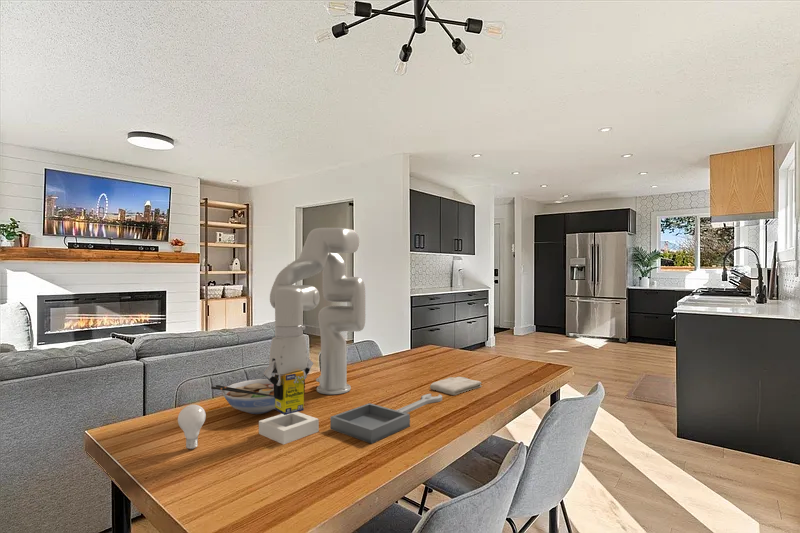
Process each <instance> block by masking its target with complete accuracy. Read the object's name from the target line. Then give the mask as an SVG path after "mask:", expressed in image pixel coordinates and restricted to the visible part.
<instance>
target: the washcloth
mask: <svg viewBox="0 0 800 533" xmlns="http://www.w3.org/2000/svg"><path fill="white" fill-rule="evenodd" d="M429 386H430V387H429V388H430V389H431V390H433V391H435V390H436V391H437V392H441V393H444V394H446V395H451V396H457V395H461V394H463V392H464V393H467V392H469V390H470V391H473V390H476V389H479V388H482V382H481V381H479V380H475V379H470V378H467V377H463V376H457V377H452V376H451V377H447V378H445V379H440V380H438V381H434V382H432V383H431V384H430V385H429ZM472 389H473V390H472ZM466 391H467V392H466ZM460 393H461V394H460Z"/></svg>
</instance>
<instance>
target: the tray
mask: <svg viewBox="0 0 800 533" xmlns="http://www.w3.org/2000/svg"><path fill="white" fill-rule="evenodd" d="M397 410H398V409H392V408H389V407H386V406H381V405H377V404H374V403H371V402H370V403H366V404H364V405H360V406H358V407H354V408H352V409H349V410H346V411H343V412H341V413H337V414H334V415H331V416H330V430H331V431H334V432H338V433H339V434H343V435H346V436H349V437H351V438H355V439H357V440H359V441H363V442H366V443H369V444H371V445H372V444H374V443H376V442H379V441H381V440H383V439H385V438H387V437H390V436H392V435H394V434H396V433H398V432H400V431H403V430H404V429H407V428H409V427H411V414H410V413H409V412H408V413H404V412H400V411H397Z"/></svg>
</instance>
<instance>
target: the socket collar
mask: <svg viewBox="0 0 800 533" xmlns="http://www.w3.org/2000/svg"><path fill="white" fill-rule="evenodd" d="M319 420H320V419H319V418H317V417H314V416H312V415H307V414H305V413H302V412H301V411H298V412H294V413H291V414H287V415H284V414H282V413H280V414H277V415H274V416H271V417H267V418H265V419H261V420H258V434H259V435H260V436H263V437H266V438H268V439H270V440H272V441H275V442H276V443H279V444H281V445H286V444H288V443H292V442H294V441H297V440H300V439H302V438H305V437H307V436H310V435H313V434H316V433H318V432H320V431H319V430H320V427H319V426H320V424H319Z"/></svg>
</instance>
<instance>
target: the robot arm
mask: <svg viewBox="0 0 800 533" xmlns="http://www.w3.org/2000/svg"><path fill="white" fill-rule="evenodd" d="M359 246H360V238H359V235H358V232H356V230H355V229H352V228H345V227H317V228H313V229H312V230H310V232H309V233H308V234H307V237H306V240H305V241H304V245H303V247H302V250H301V253H300V254H299V257H298V258H297V259H295V260H293V261H292V262H290V264H288V265H286V267H284V268H283V269H281V270H280V272H279V273H278V274H277V275H276V276H275V280H274V281H273V284H272V287H271V289H270V293H269V302H270V303H269V304H270V305H271V307H272V308H273V309H274V324H275V325H274V336H275V337H272V338H271V343H270V349H269V358H268V359H269V360H268V367H267V368H266V369H265V370H264V372H263V377H265V379H268V380H269V381H270V382H271V383H272V384H274V398H275V399H278V400H283V385H281V383H282V380H283V375H285V374H289V373H293V372H297V371H303V372H304V394H305V391H306V381H305V380H306V379H307V378H308V374H309V372H311V369H312V367H313V366H314V362H313V361H312V360H311V359H310V358H309V357H308V348H307V347H308V346H307V340H306V335H304V331H305V330H306V328H307V327H306V325H305V324H304V311H306V312H308V311H309V312H310V311H312V310H315V308H317V307H318V306H319V303H320V300H321V296H320V291H319V290H318V288H317V287H315V286H314V285H308V284H296V283H298V282H300V281H302V280H305V279H309V278H311V277H314V276H316V275H318V274H320V273H322V296H323V299H324V300H325V301H327V302H328V303H329V302H331V303H351V305H327V306H324V307H322V308H321V309H320V310H319V312H318V316H317V317H318V324H319V325H318V326H319V331H320V332H319V333H320V375H319V376H318V377H316V379H315V381H316V382H317V383H319V385H318V386H317V387H316V392H317V393H319V394H322V395H340V394H341V395H342V394H346V393H348V392H350V391H351V387H352V386H351V385H350V384H349V383H348V382H347V376H348V375H347V368H348V367H347V363H348V362H347V359H348V358H347V356H348V355H347V354H348V353H347V349H348V348H347V341H346V338H345V337H344V335H343V333H341V332H349V333H351V332H353V333H356V332H361V331H363V329H364V328H365V327H366V326H365V324H366V286H365V283H364V280H363V279H362V278H361V277H358V276H346V263H345V260H344V259H343V258H342V256H341V254H354V253H356V252H357V251H358V249H359V248H360V247H359ZM273 374H274V375H273ZM278 376H279V377H278ZM277 379H278V380H277Z"/></svg>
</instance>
